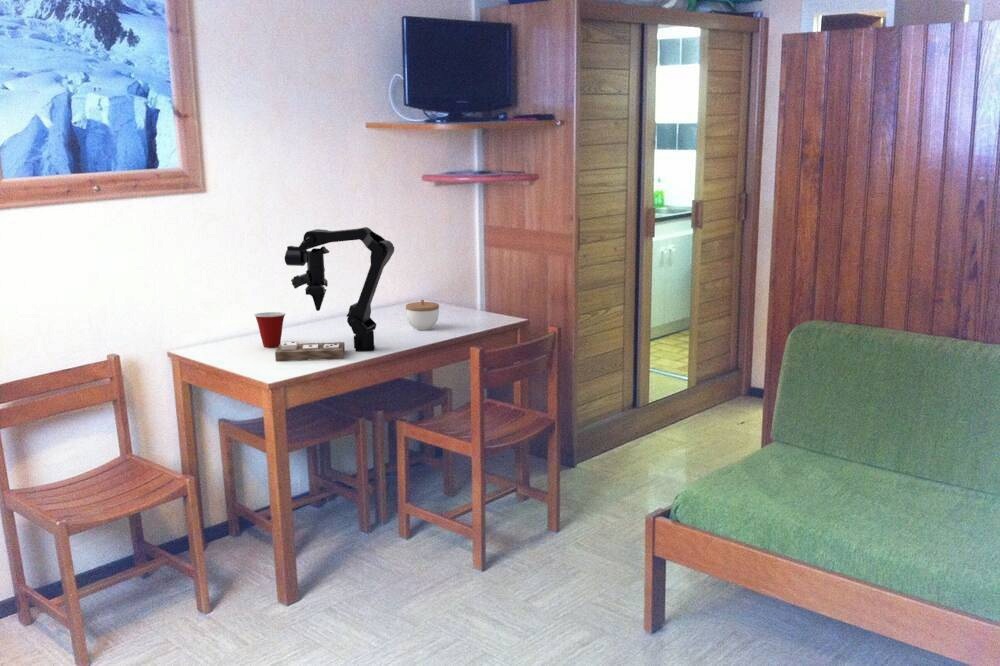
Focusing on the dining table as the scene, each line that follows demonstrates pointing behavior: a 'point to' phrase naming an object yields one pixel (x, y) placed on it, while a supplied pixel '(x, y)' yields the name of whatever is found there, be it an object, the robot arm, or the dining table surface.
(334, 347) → the three dot key
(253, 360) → the dining table surface
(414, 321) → the lidded bowl
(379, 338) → the dining table surface
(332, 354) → the key panel
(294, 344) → the two dot key
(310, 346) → the one dot key
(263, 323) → the plastic cup
